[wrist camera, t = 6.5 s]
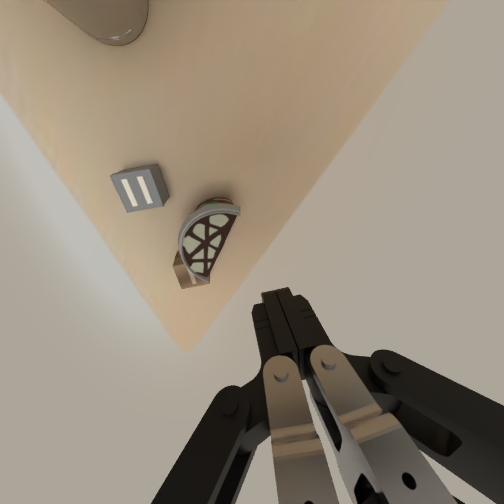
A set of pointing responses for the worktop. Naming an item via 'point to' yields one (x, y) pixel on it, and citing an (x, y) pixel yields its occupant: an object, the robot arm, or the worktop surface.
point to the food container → (206, 235)
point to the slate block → (141, 187)
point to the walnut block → (186, 274)
